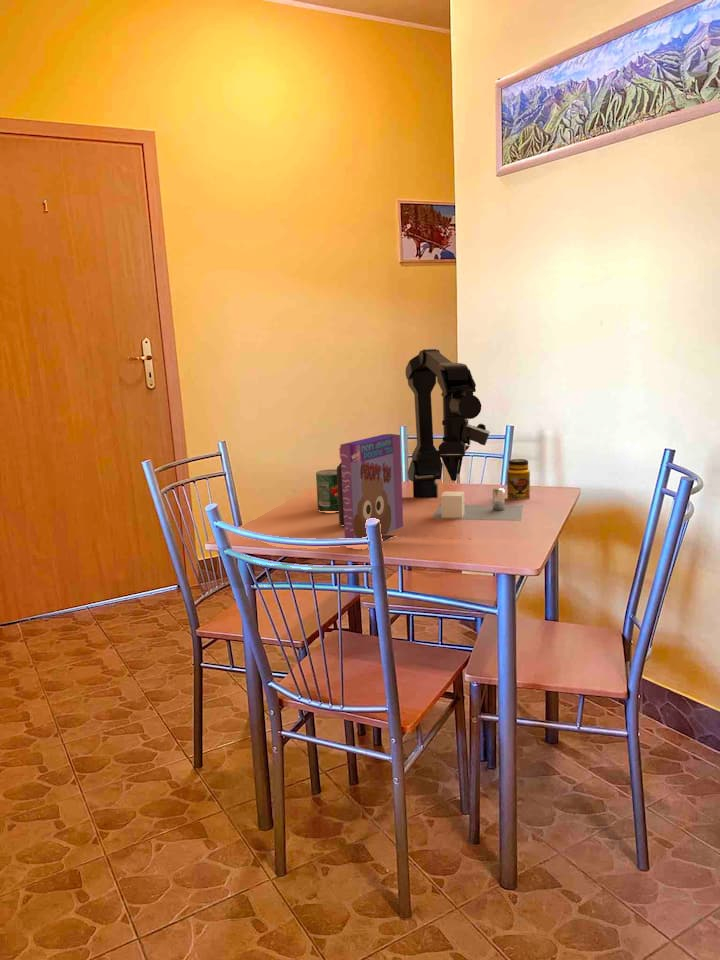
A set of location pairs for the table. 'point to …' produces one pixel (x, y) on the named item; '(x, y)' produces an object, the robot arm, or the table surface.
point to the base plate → (486, 513)
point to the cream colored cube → (452, 504)
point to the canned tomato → (327, 490)
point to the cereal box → (372, 484)
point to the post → (498, 499)
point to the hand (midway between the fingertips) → (455, 477)
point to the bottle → (340, 493)
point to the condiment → (518, 479)
